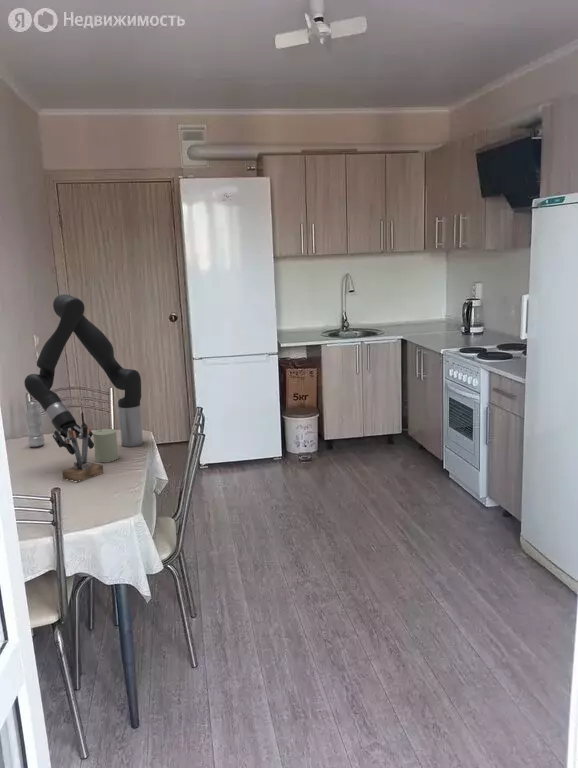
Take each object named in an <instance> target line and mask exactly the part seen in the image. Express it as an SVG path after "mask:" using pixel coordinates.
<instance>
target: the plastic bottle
mask: <svg viewBox="0 0 578 768" xmlns="http://www.w3.org/2000/svg"><path fill="white" fill-rule="evenodd" d="M27 407H28V408H27V409H26V411H25V418H26V421H27V427H28V439H27V441H28V445H29V446H30V447H31V448H36V447H37V448H38V447H42V446H43V445H44V444H45V437H44V432H43V428H42V415H43V414H42V410H41V409H40V407H38V401H37V400H30V401H28V402H27Z"/></svg>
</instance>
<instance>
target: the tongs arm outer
mask: <svg viewBox="0 0 578 768" xmlns="http://www.w3.org/2000/svg"><path fill="white" fill-rule="evenodd" d="M68 433H69V437H71V440H70V441H71V445H72V446H73V448H74V449H75V451H76V452H75V453H74V455H75V459H76V462H77V464H78V467H80V468H82V465H83V462H82V458H81V456H82V453H81V451H80V447H79V442H78V440H77V439H78V438H76V434H75V431H73V430H69V431H68Z"/></svg>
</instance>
